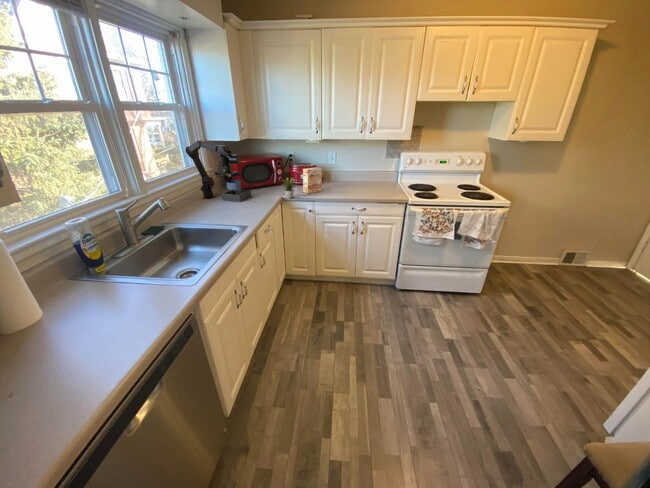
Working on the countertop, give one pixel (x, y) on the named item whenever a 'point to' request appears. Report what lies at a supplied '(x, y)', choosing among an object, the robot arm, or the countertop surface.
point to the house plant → (289, 188)
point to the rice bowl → (234, 185)
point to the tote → (236, 195)
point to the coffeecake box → (312, 180)
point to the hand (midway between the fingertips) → (228, 184)
